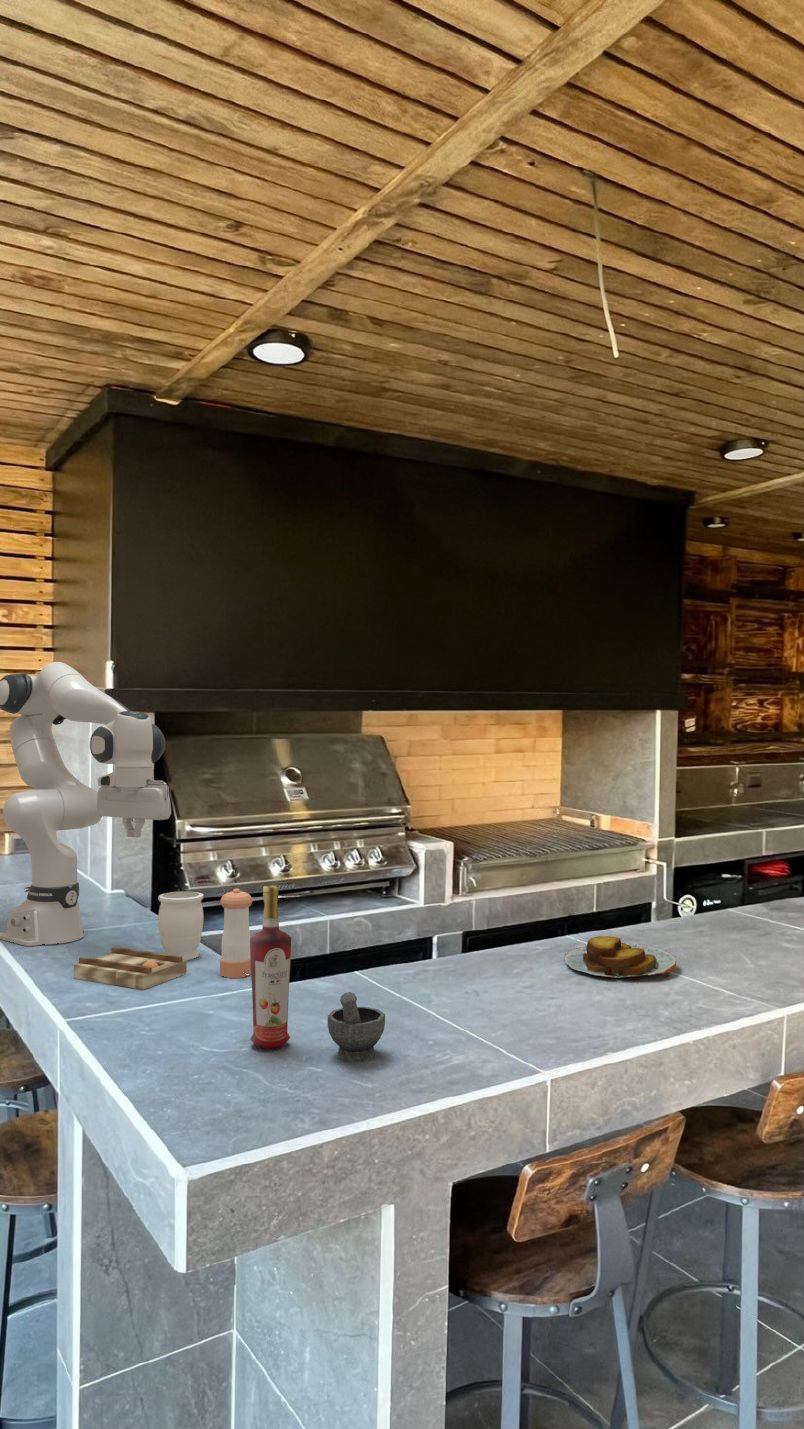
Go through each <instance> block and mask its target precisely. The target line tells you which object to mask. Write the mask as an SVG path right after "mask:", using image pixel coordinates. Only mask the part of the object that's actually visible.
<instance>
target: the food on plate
mask: <svg viewBox="0 0 804 1429" xmlns="http://www.w3.org/2000/svg"><path fill="white" fill-rule="evenodd" d="M563 958H564V959H563V962H565V965H568V966H569V968H570V969H573V970H576V972H582V973H586V974H589V975H594V976H595V977H597V976H598V977H599V976H601V977H605V978H607V977H608V978H616V979H619V978H621V979H622V978H637V977H644V976H652V975H653V976H655V975H661V974H662V975H664V974H665V973H667V975H666V976H665V977H666V978H670V975H669V974H670V972H671V971H672V970H674V967H675V966H676V964H677V959H676V956H675V955H672V953H670V952H668V951H666V950H663V949H660V948H657V947H653V946H651V945H648V946H647V945H644V944H641V943H629V942H628V943H623V942H622V940H621V938H620V937H616V936H607V935H606V936H601V935H600V936H599V935H598V936H594V937H590V938H589V939H588V941H587V944H586V945H585V946H581V947H579V948H574V949H572V950H570V951H568V952H567V953H566V954H565V953H564V957H563ZM583 966H585V967H586V969H585V970H584V969H583V968H581V967H583ZM636 984H639V982H636Z"/></svg>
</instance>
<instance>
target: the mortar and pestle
mask: <svg viewBox="0 0 804 1429" xmlns="http://www.w3.org/2000/svg"><path fill="white" fill-rule="evenodd" d="M357 998H358V997H357V995H356V994H355V993H354V992H350V991H349V992H345V993H343V994H341V996H340V999H339V1002H340V1004H341V1006H342V1007H341V1008H338V1009H333V1010H332V1011H331V1012H330V1013H329V1014H328V1015H327V1029H328V1033H329V1035H330V1037H331V1039H332V1041H333V1043H335V1044H336V1045H337V1046H338V1052H337V1056H338V1057H339V1058H340V1060H342V1061H346V1062H351V1063H353V1062H354V1063H357V1062H361V1063H362V1062H366V1061H368V1060H372V1059H373V1058H374V1056H375V1048H374V1047H375V1045H376V1044H377V1043H378V1042H379V1041H380V1039H381V1037H382V1035H383V1033H384V1030H385V1024H386V1014H385V1013H384V1012H382V1011H381V1010H380V1009H378V1008H374V1007H368V1006H358V1005H357V1000H358V999H357Z"/></svg>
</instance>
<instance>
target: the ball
mask: <svg viewBox="0 0 804 1429" xmlns="http://www.w3.org/2000/svg"><path fill="white" fill-rule="evenodd" d="M142 966H147V967H152V969H153V968H155V967H158V964H157V963H156V962H154V961H147V962H145V963H144V964H143V965H142Z"/></svg>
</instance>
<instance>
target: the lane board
mask: <svg viewBox="0 0 804 1429" xmlns="http://www.w3.org/2000/svg"><path fill="white" fill-rule="evenodd" d="M147 961H154V962H156V963H157V964H158V967H155V968H153V969H152V967H147V966H142V965H143V964H144V963H145V962H147ZM187 962H188V960H182V957H181V956H174V955H167V954H164V953H162V952H161V953H159V952H154V951H153V952H152V951H146V950H139V949H131V948H125V947H118V946H112V947H110V952H109V953H106V954H104V955H99V956H97V957H87V956H79V957H78V962H77V963H74V964H73V979H78V980H82V981H83V980H84V981H89V982H96V983H100V984H107V985H113V986H118V987H124V988H129V989H130V988H131V989H137V990H142V991H145V990H147V989H150V988H152V987H155V986H158V985H162V984H164V983H166V982H169V981H171V980H174V979H176V977H177V978H179V977H182V976H184V974H185V975H187V974H188V973H187V971H188V970H187V969H188V966H187V964H188V963H187ZM186 973H187V974H186ZM181 975H182V976H181Z"/></svg>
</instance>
